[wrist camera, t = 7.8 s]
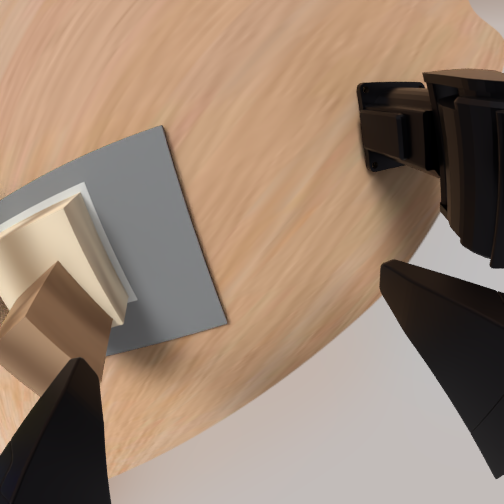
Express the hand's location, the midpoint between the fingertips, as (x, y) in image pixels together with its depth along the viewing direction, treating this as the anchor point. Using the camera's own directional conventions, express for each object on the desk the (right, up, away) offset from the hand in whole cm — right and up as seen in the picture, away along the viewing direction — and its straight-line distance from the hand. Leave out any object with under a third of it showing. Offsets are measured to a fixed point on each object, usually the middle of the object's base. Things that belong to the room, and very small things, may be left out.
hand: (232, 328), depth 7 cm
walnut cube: (-11, -2, +7) cm, 14 cm away
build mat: (-11, +1, +11) cm, 15 cm away
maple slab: (-13, +1, +9) cm, 16 cm away
